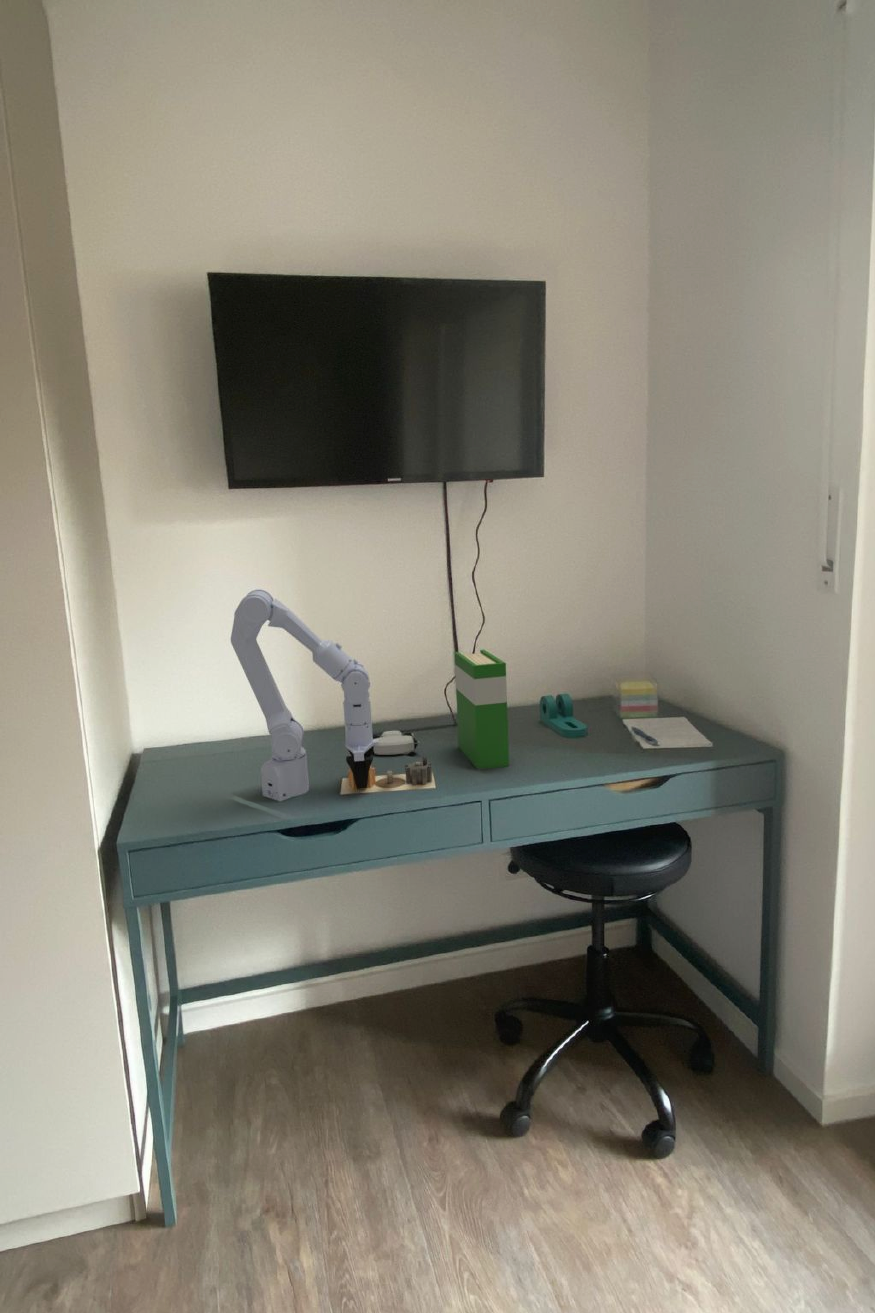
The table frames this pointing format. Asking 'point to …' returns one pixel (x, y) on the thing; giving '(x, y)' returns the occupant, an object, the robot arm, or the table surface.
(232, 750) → the table surface
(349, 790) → the gear board
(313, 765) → the table surface
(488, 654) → the hardback book
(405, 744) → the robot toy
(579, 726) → the bracket
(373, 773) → the orange gear
